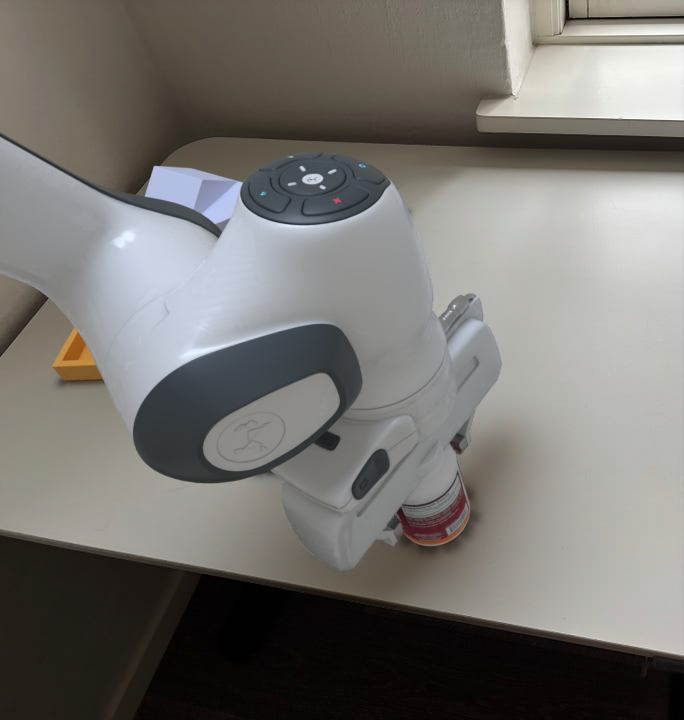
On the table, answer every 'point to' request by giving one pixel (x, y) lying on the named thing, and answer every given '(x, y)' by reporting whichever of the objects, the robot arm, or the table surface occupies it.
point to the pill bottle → (436, 500)
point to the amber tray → (76, 360)
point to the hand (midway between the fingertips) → (426, 488)
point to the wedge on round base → (196, 191)
